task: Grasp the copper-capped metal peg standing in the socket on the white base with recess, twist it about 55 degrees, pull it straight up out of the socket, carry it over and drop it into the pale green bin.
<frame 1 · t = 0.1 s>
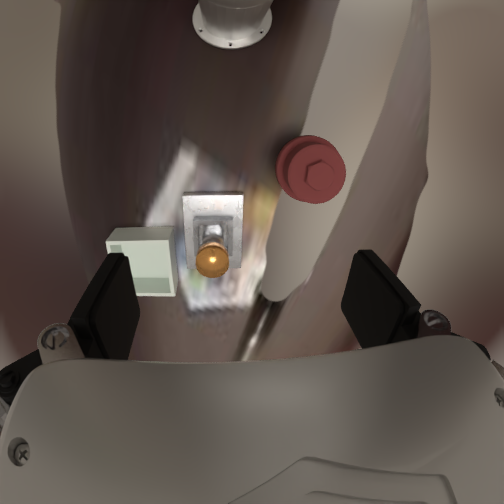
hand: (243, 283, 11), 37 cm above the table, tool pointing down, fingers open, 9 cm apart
bin: (147, 254, 50), on the table
copper-capped metal peg: (213, 234, 47), point 2 cm above the table, touching white base with recess
mechanical component: (296, 159, 45), on the table
white base with recess: (213, 229, 49), on the table
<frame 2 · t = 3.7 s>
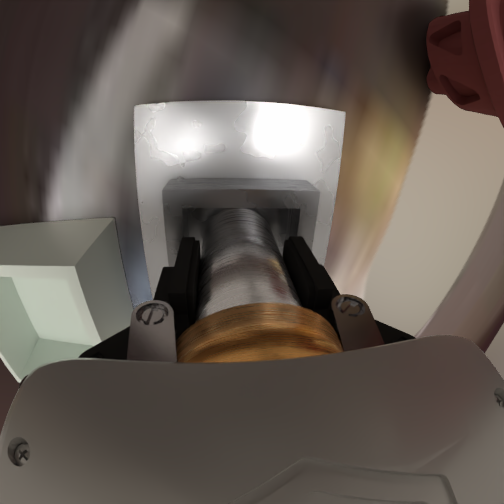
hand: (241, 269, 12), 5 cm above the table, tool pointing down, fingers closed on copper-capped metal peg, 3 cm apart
bin: (64, 292, 17), on the table
copper-capped metal peg: (237, 240, 14), point 2 cm above the table, touching gripper, white base with recess
mechanical component: (444, 63, 12), on the table
white base with recess: (235, 225, 16), on the table
when the fingers open (6 cm above the table, at t = 10.2 s): copper-capped metal peg drops 2 cm, resting on bin.
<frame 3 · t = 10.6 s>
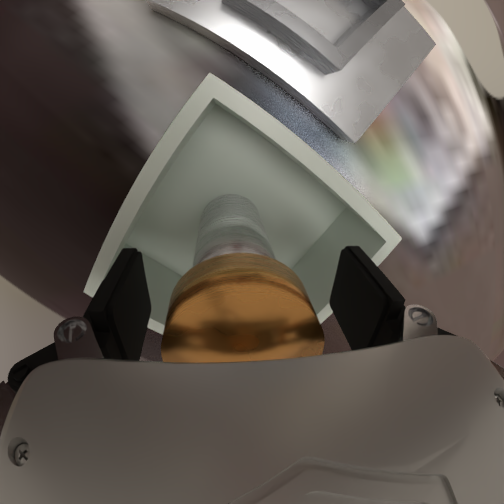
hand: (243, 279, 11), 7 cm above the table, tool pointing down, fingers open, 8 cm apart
bin: (234, 219, 17), on the table
copper-capped metal peg: (230, 223, 16), point 1 cm above the table, touching bin
white base with recess: (301, 11, 11), on the table
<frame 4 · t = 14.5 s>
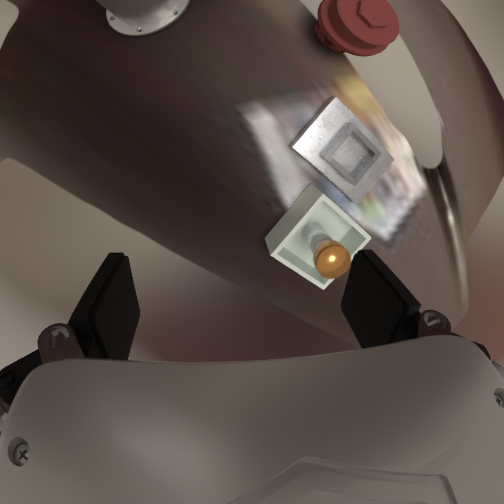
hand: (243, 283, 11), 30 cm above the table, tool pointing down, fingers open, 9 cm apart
bin: (312, 230, 44), on the table
copper-capped metal peg: (312, 231, 44), point 1 cm above the table, touching bin
mechanical component: (333, 34, 29), on the table
white base with recess: (343, 150, 38), on the table
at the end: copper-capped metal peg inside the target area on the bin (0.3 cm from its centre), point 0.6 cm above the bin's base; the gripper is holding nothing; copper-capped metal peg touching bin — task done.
